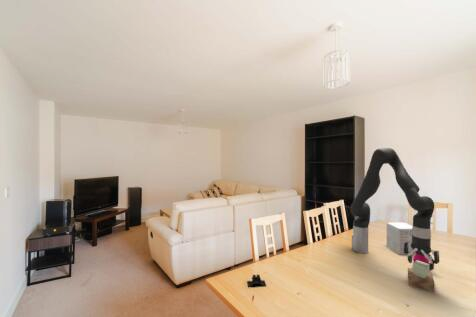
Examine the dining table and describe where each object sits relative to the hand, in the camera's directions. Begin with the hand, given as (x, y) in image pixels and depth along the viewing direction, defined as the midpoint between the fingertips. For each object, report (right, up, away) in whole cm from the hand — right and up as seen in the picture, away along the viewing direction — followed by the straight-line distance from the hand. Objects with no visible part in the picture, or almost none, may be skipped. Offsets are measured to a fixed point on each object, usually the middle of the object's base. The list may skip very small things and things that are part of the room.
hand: (420, 266), depth 115 cm
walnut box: (0, -9, 0) cm, 9 cm away
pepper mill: (+12, -9, +15) cm, 21 cm away
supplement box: (+19, -8, +39) cm, 44 cm away
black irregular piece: (-85, -11, +1) cm, 85 cm away
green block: (0, -4, 0) cm, 4 cm away
